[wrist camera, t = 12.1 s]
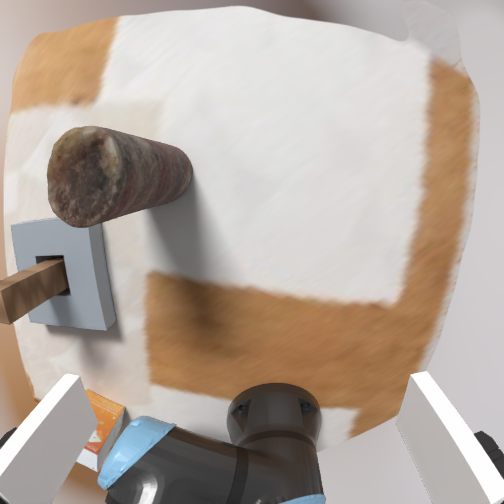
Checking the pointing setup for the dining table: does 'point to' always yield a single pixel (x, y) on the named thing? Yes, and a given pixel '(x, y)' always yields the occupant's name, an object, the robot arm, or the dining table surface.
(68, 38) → the dining table surface
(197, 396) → the dining table surface
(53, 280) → the peg
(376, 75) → the dining table surface
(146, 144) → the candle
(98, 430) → the small box
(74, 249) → the socket
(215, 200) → the dining table surface
